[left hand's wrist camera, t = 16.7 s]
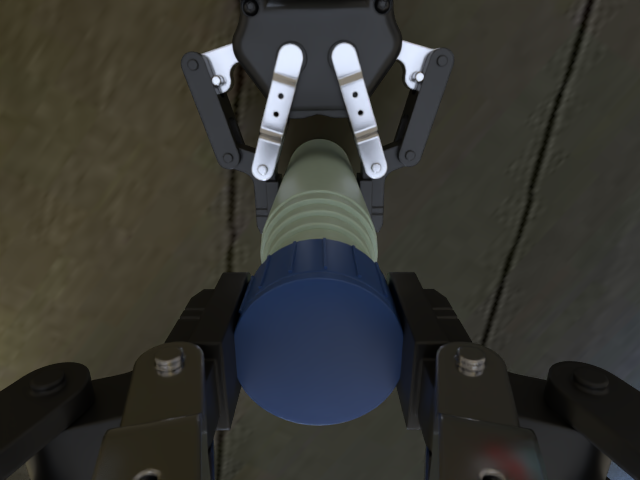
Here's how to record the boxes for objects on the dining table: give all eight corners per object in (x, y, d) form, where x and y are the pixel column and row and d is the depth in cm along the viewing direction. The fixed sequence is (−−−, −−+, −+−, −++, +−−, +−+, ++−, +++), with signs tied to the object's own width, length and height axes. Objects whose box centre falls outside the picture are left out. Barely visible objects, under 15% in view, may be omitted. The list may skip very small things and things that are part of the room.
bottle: (360, 184, 31) (439, 378, 11) (306, 210, 32) (280, 440, 11) (333, 127, 30) (364, 226, 9) (277, 156, 30) (190, 307, 10)
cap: (348, 209, 11) (355, 243, 9) (414, 326, 12) (436, 384, 10) (219, 279, 12) (193, 328, 9) (294, 383, 13) (288, 450, 11)
